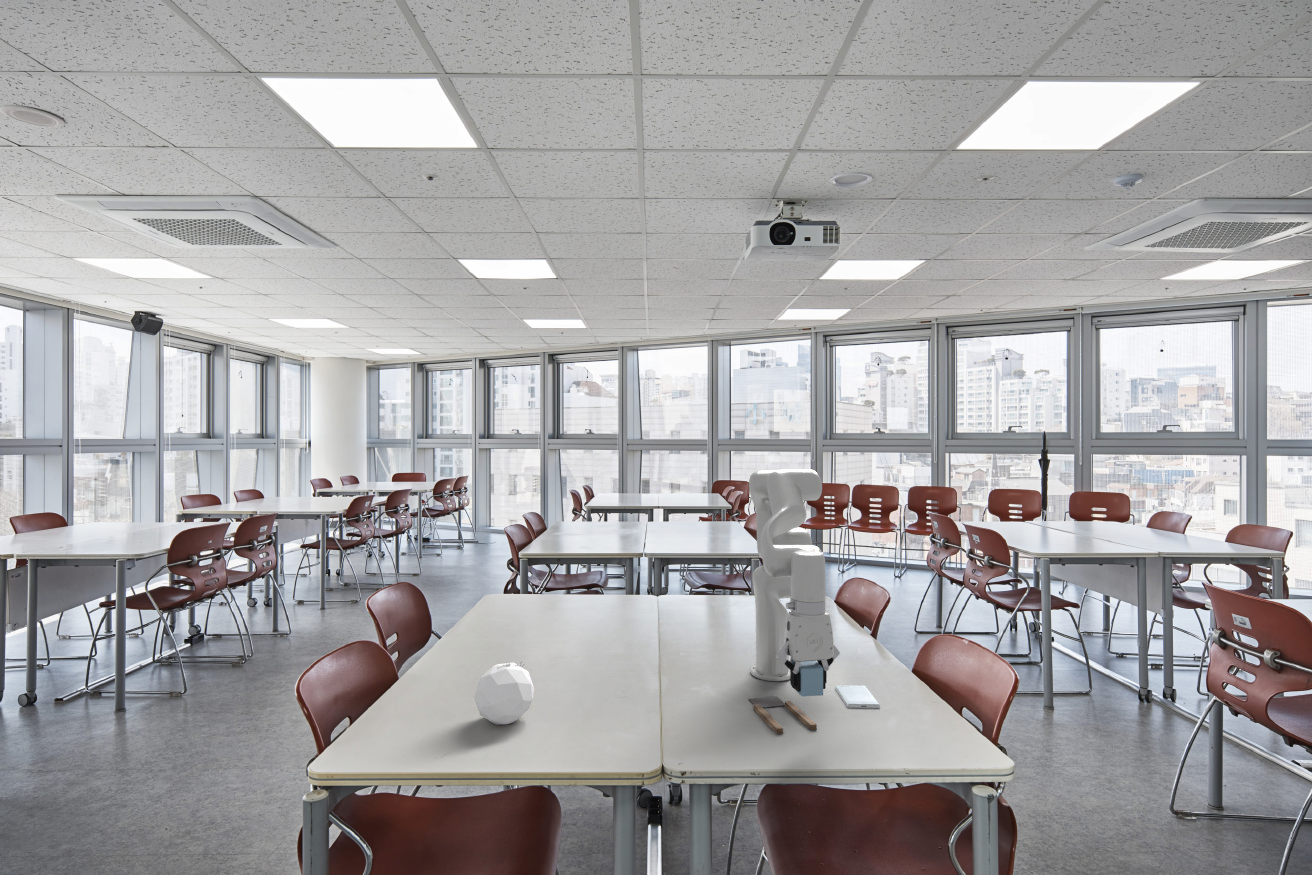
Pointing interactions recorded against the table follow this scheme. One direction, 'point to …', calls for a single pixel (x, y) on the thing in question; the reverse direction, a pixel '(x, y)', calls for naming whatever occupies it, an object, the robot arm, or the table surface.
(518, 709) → the geodesic sphere
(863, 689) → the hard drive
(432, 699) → the table surface
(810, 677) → the block
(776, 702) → the guide channel
